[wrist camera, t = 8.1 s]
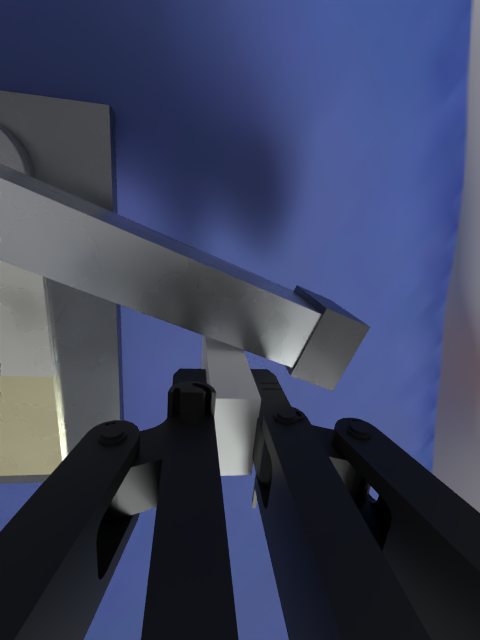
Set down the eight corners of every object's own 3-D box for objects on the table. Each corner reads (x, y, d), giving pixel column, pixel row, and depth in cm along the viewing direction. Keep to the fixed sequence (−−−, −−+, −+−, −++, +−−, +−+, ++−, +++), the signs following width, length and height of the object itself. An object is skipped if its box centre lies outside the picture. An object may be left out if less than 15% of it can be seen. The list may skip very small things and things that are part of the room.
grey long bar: (-96, 189, 14) (-297, 176, 8) (-83, 110, 13) (-297, 37, 7) (293, 341, 18) (336, 399, 13) (320, 290, 18) (378, 329, 12)
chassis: (-67, 473, 21) (-95, 502, 19) (-174, 73, 14) (-237, 49, 12) (125, 468, 23) (118, 494, 21) (113, 111, 16) (102, 96, 14)
